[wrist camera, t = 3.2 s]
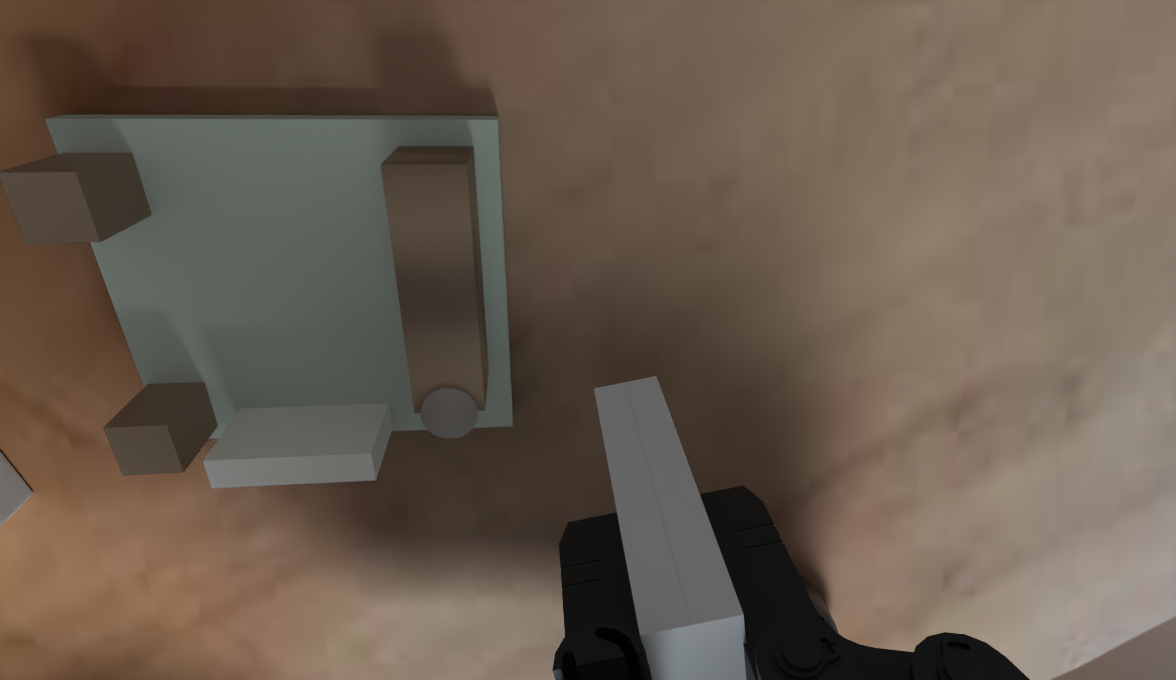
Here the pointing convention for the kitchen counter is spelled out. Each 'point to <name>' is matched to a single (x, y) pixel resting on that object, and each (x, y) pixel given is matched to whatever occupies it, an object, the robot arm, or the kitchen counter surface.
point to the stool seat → (258, 282)
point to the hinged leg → (439, 282)
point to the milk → (11, 490)
